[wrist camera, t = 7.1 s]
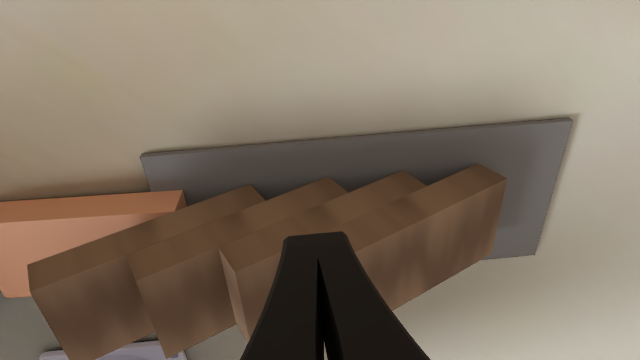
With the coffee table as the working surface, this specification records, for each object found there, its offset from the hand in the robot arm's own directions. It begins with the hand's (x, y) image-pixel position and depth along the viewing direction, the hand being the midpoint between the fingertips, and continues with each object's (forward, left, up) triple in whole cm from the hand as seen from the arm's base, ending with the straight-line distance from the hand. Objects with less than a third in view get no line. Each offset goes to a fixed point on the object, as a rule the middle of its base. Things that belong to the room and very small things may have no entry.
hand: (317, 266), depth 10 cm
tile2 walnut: (-6, -5, -9) cm, 12 cm away
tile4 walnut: (-6, +2, -9) cm, 11 cm away
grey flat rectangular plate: (-6, -3, -10) cm, 12 cm away
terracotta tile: (-6, +6, -9) cm, 12 cm away
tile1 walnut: (-6, -8, -9) cm, 14 cm away
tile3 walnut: (-6, -1, -9) cm, 11 cm away
